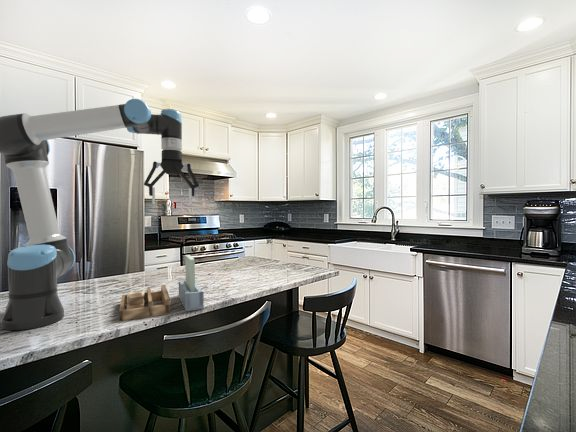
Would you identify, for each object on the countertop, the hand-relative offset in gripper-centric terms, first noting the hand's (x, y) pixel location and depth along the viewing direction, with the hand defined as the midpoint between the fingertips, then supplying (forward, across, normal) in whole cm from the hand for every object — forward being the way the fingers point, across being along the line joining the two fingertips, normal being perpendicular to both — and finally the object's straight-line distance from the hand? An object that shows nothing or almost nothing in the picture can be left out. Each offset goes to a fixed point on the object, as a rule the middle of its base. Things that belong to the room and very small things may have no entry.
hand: (172, 204), depth 121 cm
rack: (+37, -11, -10) cm, 39 cm away
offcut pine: (+37, -13, -6) cm, 40 cm away
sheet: (+36, +5, -10) cm, 37 cm away
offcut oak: (+37, -13, -16) cm, 42 cm away
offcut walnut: (+33, -13, -16) cm, 39 cm away
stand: (+37, +5, -10) cm, 38 cm away
